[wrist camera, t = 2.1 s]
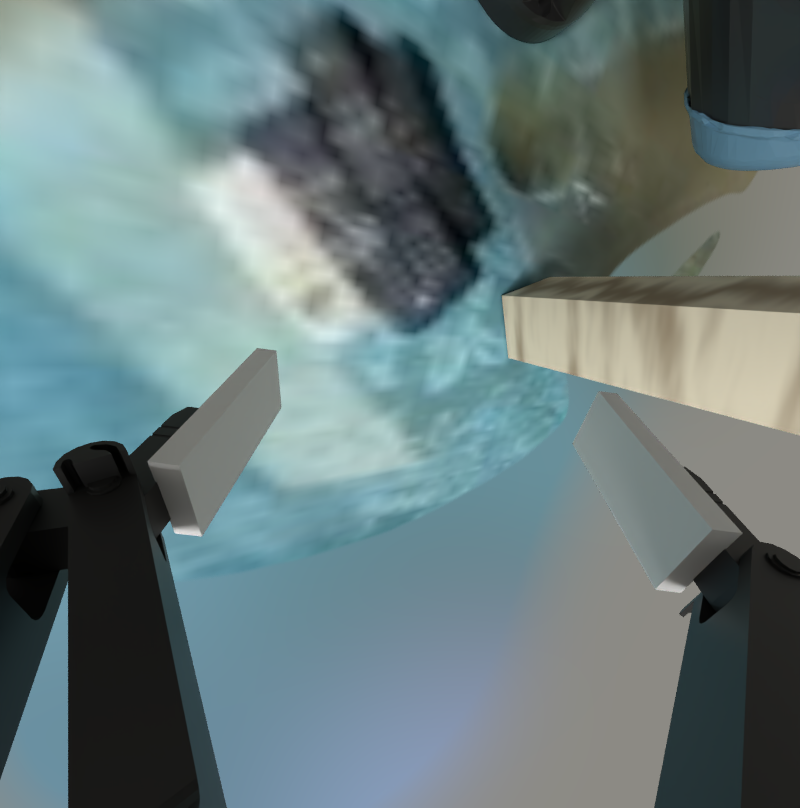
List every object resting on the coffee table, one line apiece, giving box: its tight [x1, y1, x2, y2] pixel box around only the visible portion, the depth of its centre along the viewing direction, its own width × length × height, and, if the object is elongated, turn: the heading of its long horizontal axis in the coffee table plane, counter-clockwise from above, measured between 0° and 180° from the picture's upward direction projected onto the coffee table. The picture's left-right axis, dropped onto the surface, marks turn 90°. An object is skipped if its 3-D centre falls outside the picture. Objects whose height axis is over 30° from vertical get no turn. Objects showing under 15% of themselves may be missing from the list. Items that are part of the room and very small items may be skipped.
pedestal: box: [502, 276, 800, 435], centre depth 24 cm, size 8×8×36 cm
